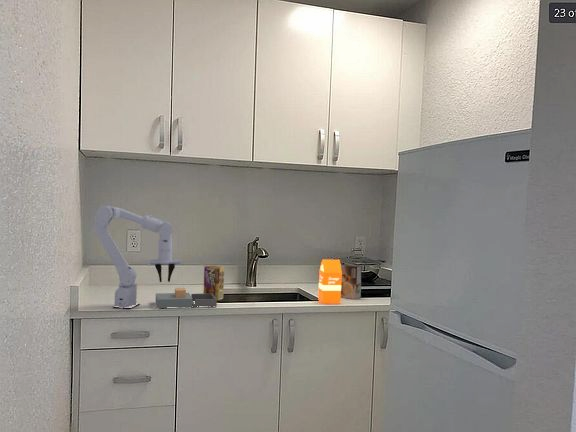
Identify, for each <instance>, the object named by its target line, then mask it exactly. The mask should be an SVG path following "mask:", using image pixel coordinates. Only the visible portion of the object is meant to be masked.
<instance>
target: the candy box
mask: <svg viewBox="0 0 576 432" xmlns="http://www.w3.org/2000/svg"><path fill="white" fill-rule="evenodd" d="M203 268H204V270H203V293H212V294H213V295H214V296H215V297H216V299H217V301H220V300H223V299H224V286H225V284H224V283H225V266H219V265H211V264H210V265H209V264H208V265H204V266H203Z"/></svg>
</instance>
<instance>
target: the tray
mask: <svg viewBox="0 0 576 432" xmlns="http://www.w3.org/2000/svg"><path fill="white" fill-rule="evenodd" d="M190 295H191V297H192V306H193V307H197V306H198V307H199V306H217V304H218V300H217V299H216V297H215V296H214V295H213V294H212V293H204V292H203V293H191V294H190ZM193 301H195V304H194V302H193ZM193 307H192V308H193Z"/></svg>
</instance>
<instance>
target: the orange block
mask: <svg viewBox="0 0 576 432" xmlns="http://www.w3.org/2000/svg"><path fill="white" fill-rule="evenodd" d="M174 293H175V296H176V297H186V293H187V290H186V288H185V287H175V288H174Z"/></svg>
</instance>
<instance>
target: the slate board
mask: <svg viewBox="0 0 576 432" xmlns="http://www.w3.org/2000/svg"><path fill="white" fill-rule="evenodd" d="M156 305H157V306H156ZM155 306H156V309H157V308H167V307H192V297H191V294H190V292H186V297H176V296H175V292H165V293H164V292H162V293H161V292H160V293H155ZM192 308H193V307H192Z"/></svg>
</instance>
